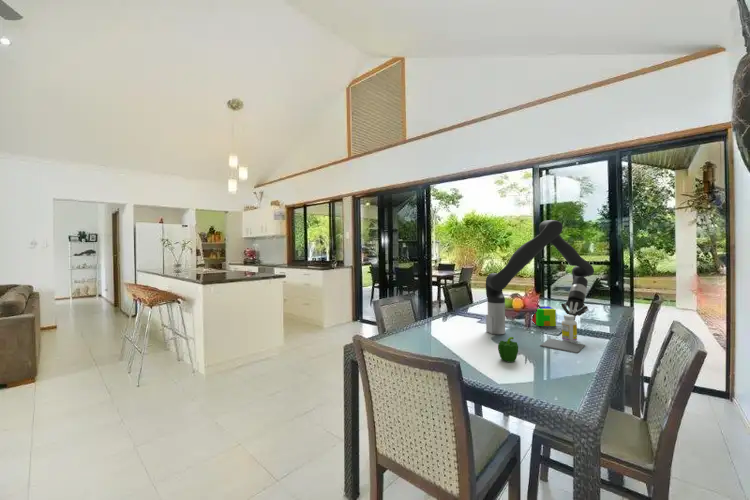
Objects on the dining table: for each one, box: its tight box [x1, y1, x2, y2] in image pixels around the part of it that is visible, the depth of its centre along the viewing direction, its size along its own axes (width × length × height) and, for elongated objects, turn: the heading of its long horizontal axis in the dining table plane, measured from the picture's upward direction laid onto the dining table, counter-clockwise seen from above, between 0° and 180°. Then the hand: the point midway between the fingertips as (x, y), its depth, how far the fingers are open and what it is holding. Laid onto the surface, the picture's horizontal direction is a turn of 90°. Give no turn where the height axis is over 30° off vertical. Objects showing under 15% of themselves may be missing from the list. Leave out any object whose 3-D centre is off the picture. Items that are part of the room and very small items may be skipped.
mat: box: [539, 338, 586, 354], centre depth 164 cm, size 14×16×1 cm
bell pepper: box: [497, 336, 519, 363], centre depth 146 cm, size 8×8×10 cm
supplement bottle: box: [561, 314, 578, 343], centre depth 172 cm, size 7×7×13 cm
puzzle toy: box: [531, 305, 557, 327], centre depth 204 cm, size 10×10×10 cm
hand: (571, 320), depth 174 cm, fingers closed
